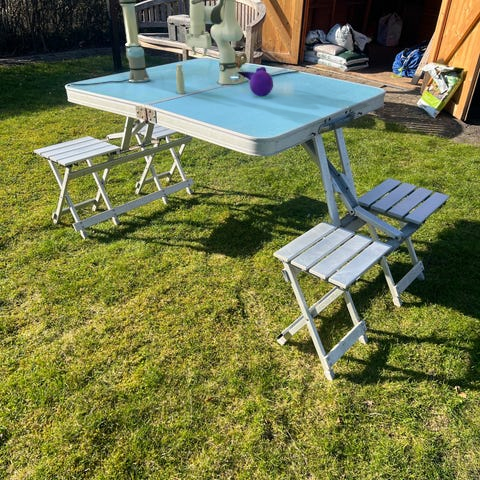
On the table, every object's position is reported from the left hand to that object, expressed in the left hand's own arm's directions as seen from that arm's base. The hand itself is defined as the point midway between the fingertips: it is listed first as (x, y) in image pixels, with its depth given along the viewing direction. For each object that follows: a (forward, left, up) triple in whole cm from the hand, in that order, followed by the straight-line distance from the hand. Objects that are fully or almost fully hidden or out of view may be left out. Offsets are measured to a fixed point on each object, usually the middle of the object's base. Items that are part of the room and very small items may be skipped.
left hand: (196, 35), depth 349 cm
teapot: (+31, 0, -28) cm, 42 cm away
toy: (+19, -89, -28) cm, 95 cm away
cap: (-27, -66, -10) cm, 72 cm away
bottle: (-27, -66, -28) cm, 76 cm away
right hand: (-17, -84, -3) cm, 86 cm away
